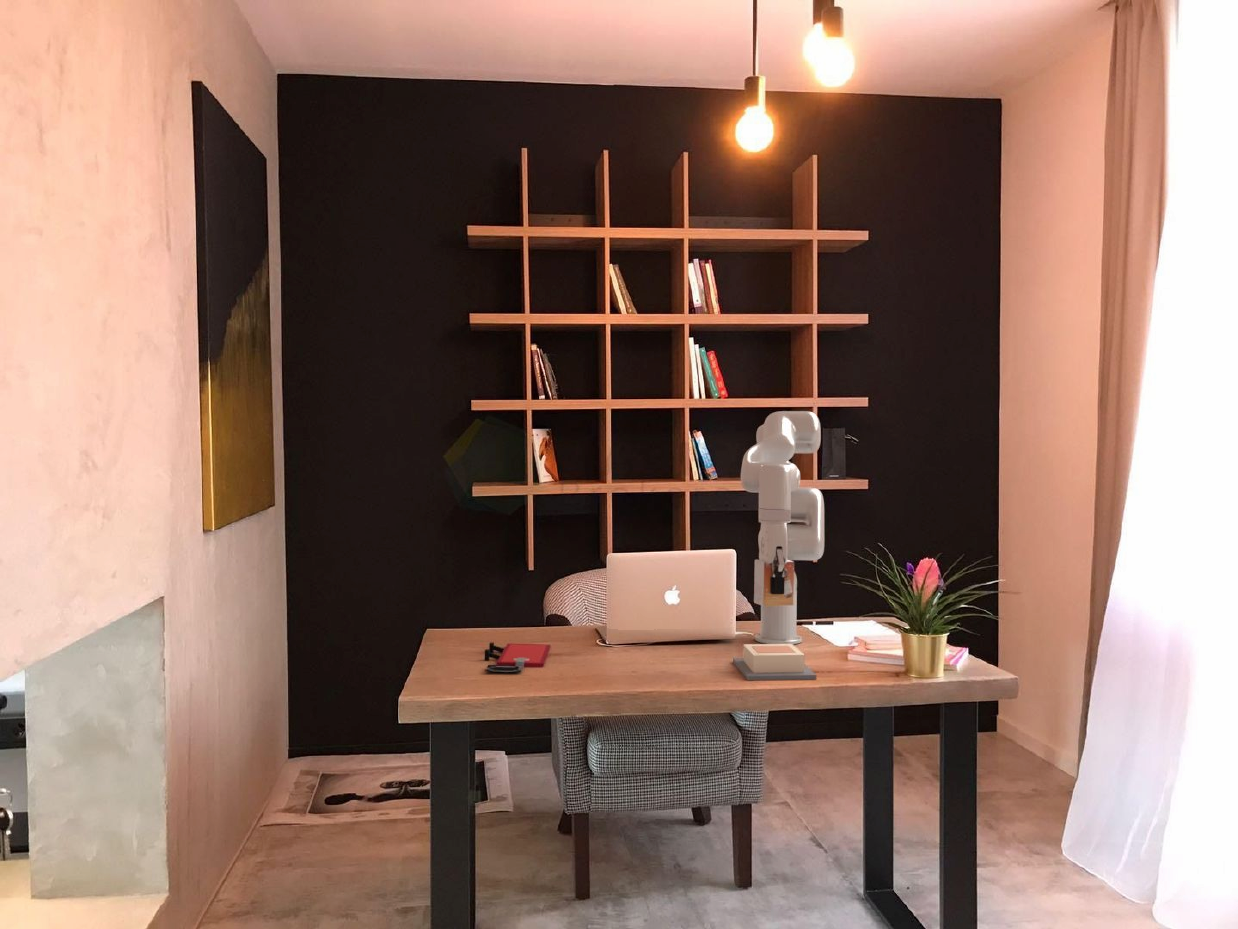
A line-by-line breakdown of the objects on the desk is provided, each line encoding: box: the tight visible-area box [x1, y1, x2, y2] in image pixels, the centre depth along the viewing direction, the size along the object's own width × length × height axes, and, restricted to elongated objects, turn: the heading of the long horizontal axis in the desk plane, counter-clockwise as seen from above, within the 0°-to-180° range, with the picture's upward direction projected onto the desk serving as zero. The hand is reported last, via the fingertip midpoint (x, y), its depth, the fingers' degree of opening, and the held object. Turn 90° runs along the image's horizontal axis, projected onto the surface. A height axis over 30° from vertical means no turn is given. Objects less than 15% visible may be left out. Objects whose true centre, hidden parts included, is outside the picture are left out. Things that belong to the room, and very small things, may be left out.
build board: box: [732, 643, 817, 681], centre depth 240 cm, size 18×16×5 cm
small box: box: [753, 559, 795, 607], centre depth 239 cm, size 8×6×10 cm
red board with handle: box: [484, 642, 551, 673], centre depth 250 cm, size 30×3×15 cm
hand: (773, 590), depth 239 cm, fingers closed on small box, 6 cm apart
